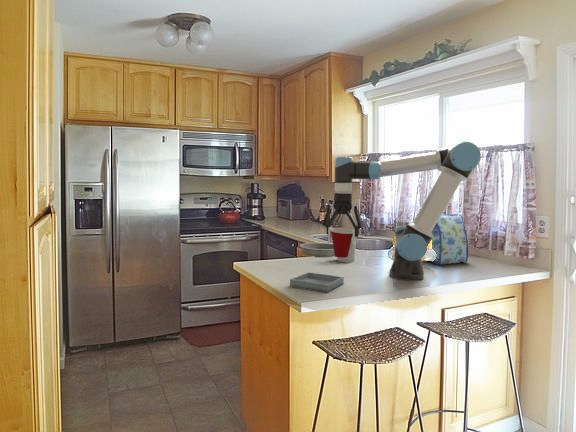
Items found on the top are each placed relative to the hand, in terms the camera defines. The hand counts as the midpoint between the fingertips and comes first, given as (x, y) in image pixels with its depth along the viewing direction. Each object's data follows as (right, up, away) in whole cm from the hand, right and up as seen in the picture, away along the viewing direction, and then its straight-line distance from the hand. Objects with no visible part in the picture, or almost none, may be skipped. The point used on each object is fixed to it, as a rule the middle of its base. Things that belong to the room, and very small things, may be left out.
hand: (342, 243), depth 196 cm
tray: (-12, -17, -12) cm, 24 cm away
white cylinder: (+7, -12, +44) cm, 46 cm away
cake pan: (-5, -10, +65) cm, 66 cm away
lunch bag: (+61, -13, +48) cm, 78 cm away
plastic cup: (0, -6, +1) cm, 6 cm away
